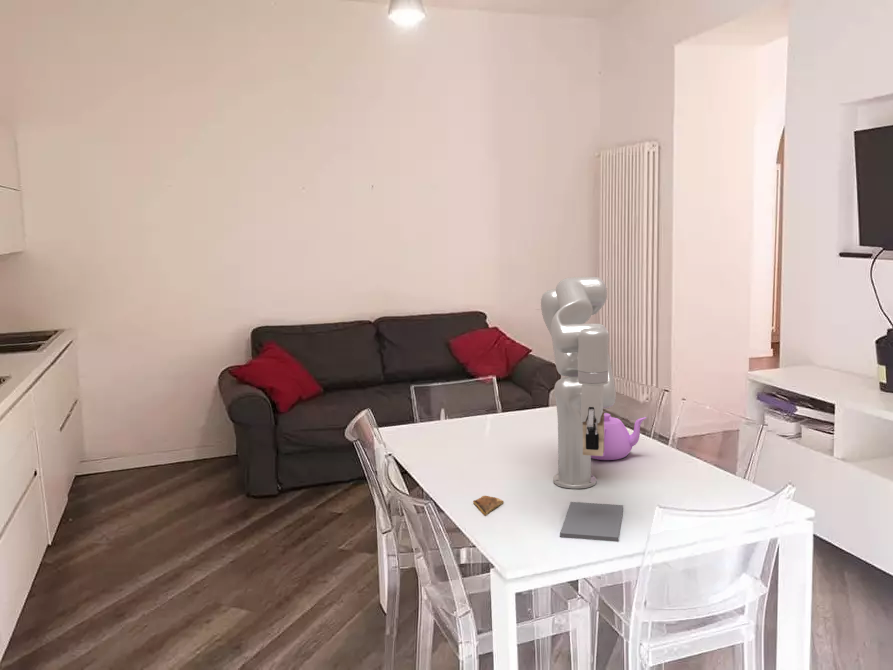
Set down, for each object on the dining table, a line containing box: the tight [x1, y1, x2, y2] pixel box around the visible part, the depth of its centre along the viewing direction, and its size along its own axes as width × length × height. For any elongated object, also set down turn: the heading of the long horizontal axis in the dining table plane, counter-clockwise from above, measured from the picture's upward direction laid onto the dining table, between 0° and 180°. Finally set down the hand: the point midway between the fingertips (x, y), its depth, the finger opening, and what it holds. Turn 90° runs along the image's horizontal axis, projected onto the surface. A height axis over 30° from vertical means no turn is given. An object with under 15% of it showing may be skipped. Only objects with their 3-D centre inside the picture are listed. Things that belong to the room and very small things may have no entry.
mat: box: [559, 501, 624, 542], centre depth 207 cm, size 22×14×1 cm, turn 165°
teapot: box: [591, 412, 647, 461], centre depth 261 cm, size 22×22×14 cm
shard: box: [472, 495, 505, 516], centre depth 220 cm, size 11×8×2 cm
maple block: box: [583, 412, 605, 456], centre depth 207 cm, size 5×5×10 cm
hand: (593, 445), depth 208 cm, fingers closed on maple block, 5 cm apart
